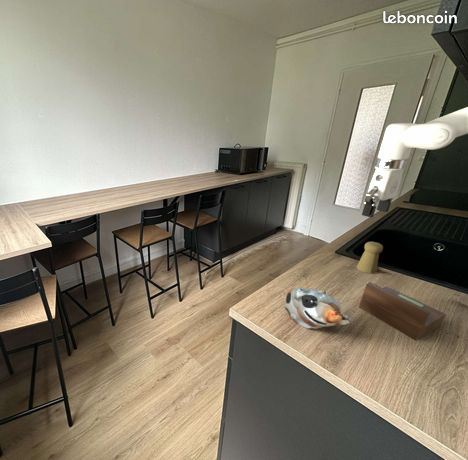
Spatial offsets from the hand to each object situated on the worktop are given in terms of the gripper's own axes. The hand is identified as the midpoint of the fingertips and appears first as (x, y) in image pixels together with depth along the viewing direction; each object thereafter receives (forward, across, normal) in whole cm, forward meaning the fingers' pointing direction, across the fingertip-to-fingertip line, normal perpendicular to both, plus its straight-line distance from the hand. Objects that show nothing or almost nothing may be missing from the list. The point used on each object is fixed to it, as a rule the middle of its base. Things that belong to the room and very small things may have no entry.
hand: (374, 213), depth 88 cm
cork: (+22, +1, -3) cm, 22 cm away
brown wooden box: (+22, -19, -20) cm, 35 cm away
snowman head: (+22, -41, -9) cm, 48 cm away
